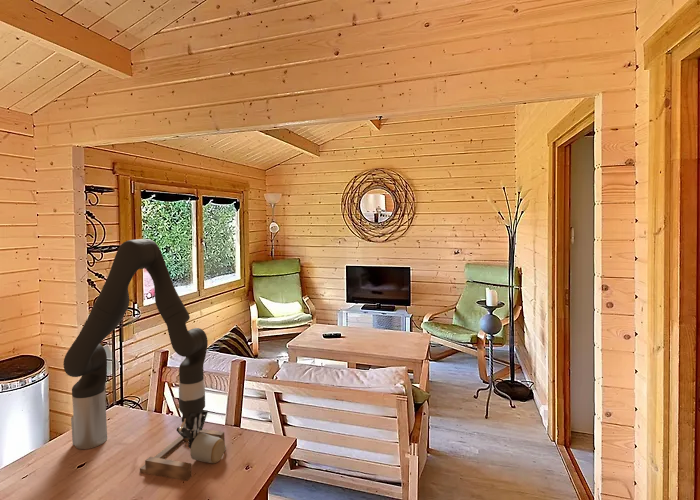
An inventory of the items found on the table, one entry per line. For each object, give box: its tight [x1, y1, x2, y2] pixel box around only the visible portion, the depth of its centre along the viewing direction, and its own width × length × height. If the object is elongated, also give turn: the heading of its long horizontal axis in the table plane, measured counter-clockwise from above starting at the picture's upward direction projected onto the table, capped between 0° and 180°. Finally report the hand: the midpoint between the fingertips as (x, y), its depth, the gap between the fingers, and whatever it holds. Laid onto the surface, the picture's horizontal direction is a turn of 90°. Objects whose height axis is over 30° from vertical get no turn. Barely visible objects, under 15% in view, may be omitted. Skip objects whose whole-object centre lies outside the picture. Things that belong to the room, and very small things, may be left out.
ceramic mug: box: [189, 433, 227, 464], centre depth 129 cm, size 11×8×8 cm
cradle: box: [139, 428, 226, 482], centre depth 129 cm, size 16×20×4 cm
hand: (193, 447), depth 129 cm, fingers closed
